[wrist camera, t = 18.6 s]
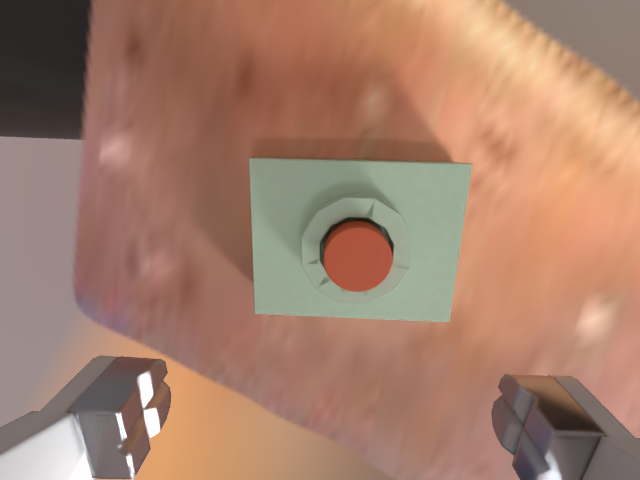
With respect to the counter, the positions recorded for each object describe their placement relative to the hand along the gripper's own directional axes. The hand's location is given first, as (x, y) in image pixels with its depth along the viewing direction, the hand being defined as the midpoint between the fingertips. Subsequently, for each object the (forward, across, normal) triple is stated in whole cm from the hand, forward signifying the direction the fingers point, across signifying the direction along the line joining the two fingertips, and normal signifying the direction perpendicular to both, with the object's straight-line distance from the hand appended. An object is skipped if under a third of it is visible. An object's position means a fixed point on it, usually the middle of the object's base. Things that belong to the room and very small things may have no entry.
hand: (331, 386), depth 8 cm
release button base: (+17, -2, +2) cm, 17 cm away
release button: (+13, -2, +1) cm, 13 cm away
